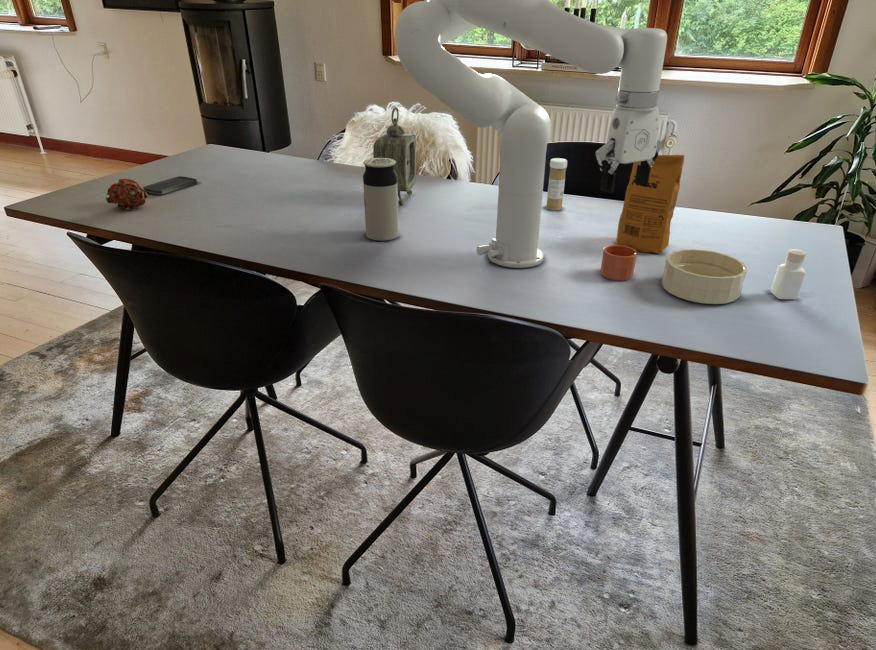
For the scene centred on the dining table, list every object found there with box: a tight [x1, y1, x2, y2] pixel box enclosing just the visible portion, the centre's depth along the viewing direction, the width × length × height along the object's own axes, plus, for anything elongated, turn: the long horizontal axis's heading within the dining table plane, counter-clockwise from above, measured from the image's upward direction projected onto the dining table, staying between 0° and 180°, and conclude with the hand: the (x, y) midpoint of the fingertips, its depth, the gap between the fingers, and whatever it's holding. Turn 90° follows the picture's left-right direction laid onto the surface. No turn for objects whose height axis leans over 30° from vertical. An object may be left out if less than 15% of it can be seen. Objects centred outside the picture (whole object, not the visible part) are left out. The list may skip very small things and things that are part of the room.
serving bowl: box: [661, 248, 748, 305], centre depth 128 cm, size 15×15×6 cm
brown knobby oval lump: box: [105, 178, 149, 211], centre depth 168 cm, size 8×8×12 cm
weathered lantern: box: [372, 106, 417, 207], centre depth 174 cm, size 14×9×25 cm, turn 171°
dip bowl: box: [600, 244, 638, 282], centre depth 134 cm, size 7×7×6 cm
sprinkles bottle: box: [545, 157, 568, 211], centre depth 172 cm, size 5×5×14 cm
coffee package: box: [615, 154, 685, 254], centre depth 146 cm, size 10×12×22 cm
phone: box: [141, 175, 198, 196], centre depth 187 cm, size 8×1×15 cm
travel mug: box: [362, 157, 400, 242], centre depth 149 cm, size 8×8×18 cm
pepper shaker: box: [770, 248, 807, 300], centre depth 125 cm, size 4×4×10 cm
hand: (624, 188), depth 130 cm, fingers open, 9 cm apart
